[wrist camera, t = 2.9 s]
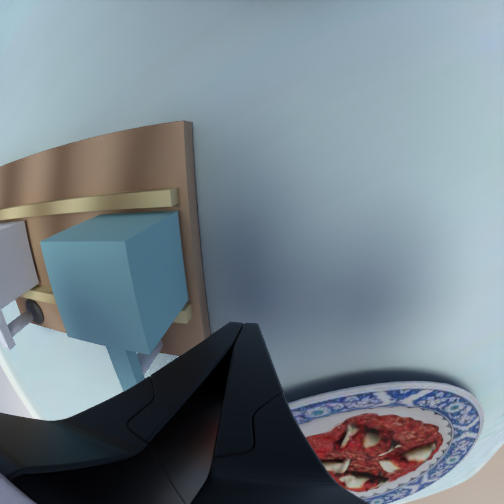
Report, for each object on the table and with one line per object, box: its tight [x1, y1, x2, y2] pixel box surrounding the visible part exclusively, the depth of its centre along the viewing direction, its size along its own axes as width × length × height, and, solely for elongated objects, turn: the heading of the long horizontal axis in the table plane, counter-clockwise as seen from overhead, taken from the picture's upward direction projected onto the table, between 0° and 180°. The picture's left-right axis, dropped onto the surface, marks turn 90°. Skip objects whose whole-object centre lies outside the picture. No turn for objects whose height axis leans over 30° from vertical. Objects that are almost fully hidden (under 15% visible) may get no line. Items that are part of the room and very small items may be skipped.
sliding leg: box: [40, 211, 189, 391], centre depth 14 cm, size 5×9×5 cm, turn 2°
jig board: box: [0, 121, 211, 356], centre depth 17 cm, size 19×14×2 cm
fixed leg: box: [0, 220, 39, 350], centre depth 16 cm, size 5×9×5 cm, turn 2°
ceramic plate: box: [288, 381, 484, 504], centre depth 21 cm, size 26×26×3 cm
